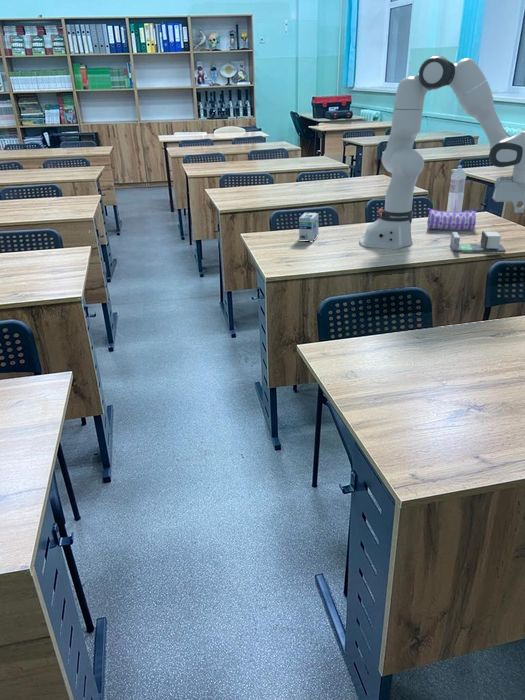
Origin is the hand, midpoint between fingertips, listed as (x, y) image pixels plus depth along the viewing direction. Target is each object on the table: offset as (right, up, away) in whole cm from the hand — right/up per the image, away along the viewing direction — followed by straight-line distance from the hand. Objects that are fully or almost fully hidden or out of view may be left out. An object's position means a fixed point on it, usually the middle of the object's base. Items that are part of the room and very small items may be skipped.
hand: (518, 212), depth 204 cm
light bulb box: (-79, -4, +33) cm, 86 cm away
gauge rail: (-13, -13, +9) cm, 20 cm away
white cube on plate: (-8, -12, +8) cm, 16 cm away
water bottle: (-6, +11, +54) cm, 55 cm away
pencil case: (-13, +2, +38) cm, 40 cm away
